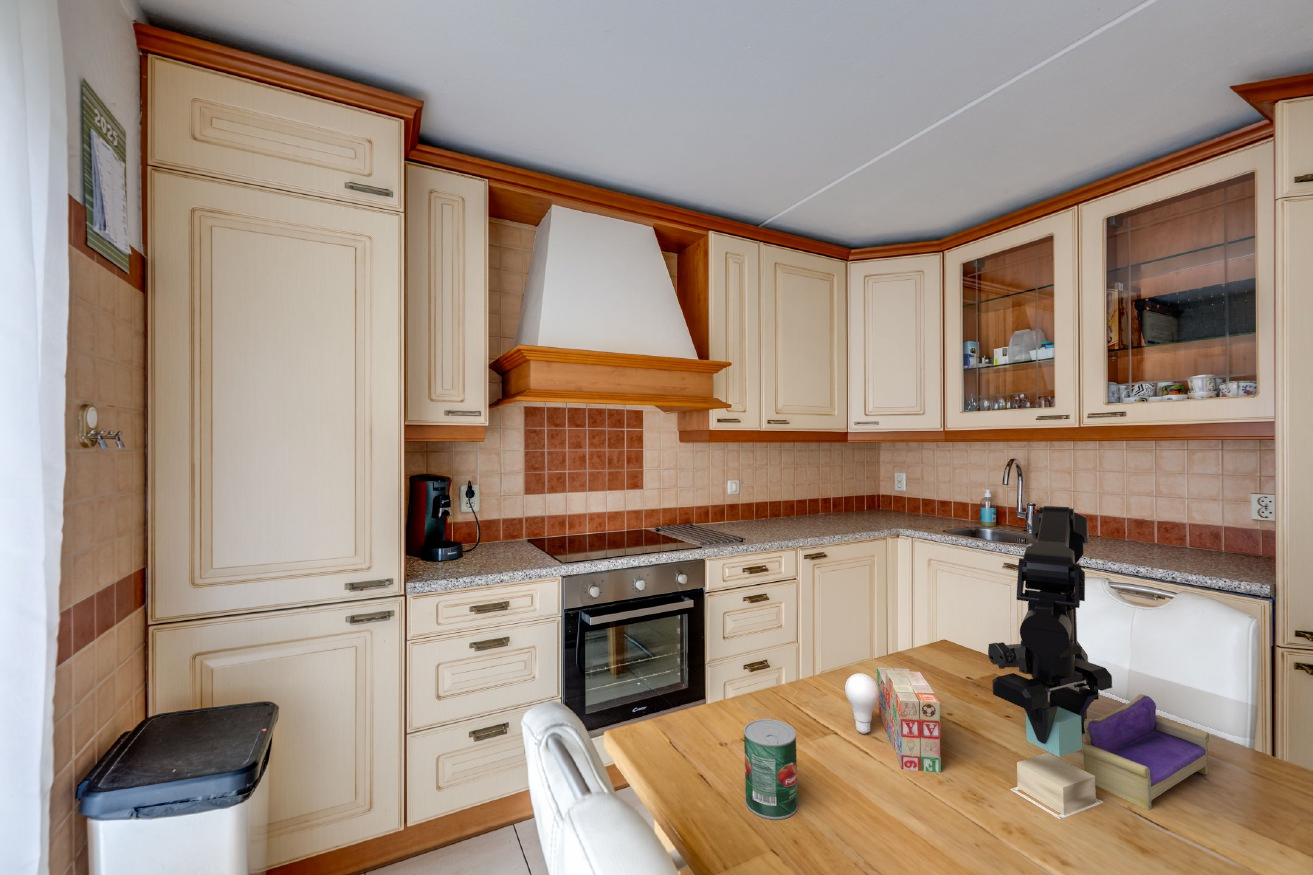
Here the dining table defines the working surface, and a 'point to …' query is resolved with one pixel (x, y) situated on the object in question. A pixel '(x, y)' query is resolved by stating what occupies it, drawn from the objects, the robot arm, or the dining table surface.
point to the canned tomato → (770, 768)
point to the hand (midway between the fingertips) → (1054, 738)
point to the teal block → (1060, 734)
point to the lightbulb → (862, 699)
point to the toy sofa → (1141, 752)
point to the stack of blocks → (910, 718)
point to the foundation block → (1056, 783)
